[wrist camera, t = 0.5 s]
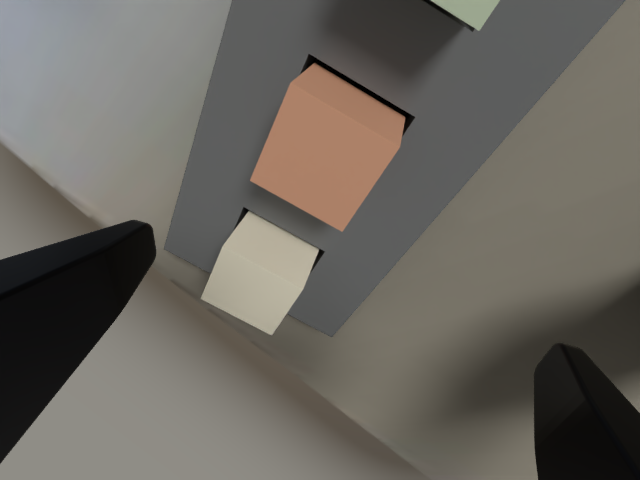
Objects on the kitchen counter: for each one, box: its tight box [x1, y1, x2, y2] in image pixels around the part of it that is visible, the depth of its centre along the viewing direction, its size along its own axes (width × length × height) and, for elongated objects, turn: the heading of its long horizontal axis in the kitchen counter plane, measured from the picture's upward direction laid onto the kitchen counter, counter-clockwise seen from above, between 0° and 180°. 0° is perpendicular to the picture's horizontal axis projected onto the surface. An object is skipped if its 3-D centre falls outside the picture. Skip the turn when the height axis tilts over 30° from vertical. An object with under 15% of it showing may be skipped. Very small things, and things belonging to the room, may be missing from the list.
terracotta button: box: [250, 63, 405, 232], centre depth 16 cm, size 4×4×3 cm
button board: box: [164, 0, 625, 337], centre depth 18 cm, size 12×24×2 cm, turn 153°
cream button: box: [201, 210, 319, 336], centre depth 21 cm, size 4×4×3 cm
